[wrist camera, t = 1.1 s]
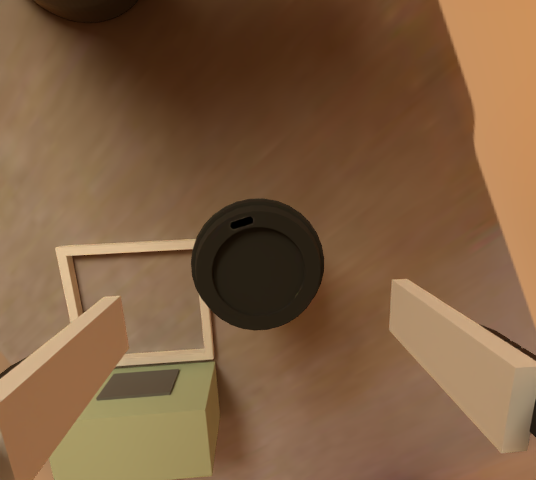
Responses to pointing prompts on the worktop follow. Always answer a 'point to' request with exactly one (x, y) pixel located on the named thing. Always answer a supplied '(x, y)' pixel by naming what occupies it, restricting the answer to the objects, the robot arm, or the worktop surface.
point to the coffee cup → (257, 264)
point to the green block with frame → (142, 401)
